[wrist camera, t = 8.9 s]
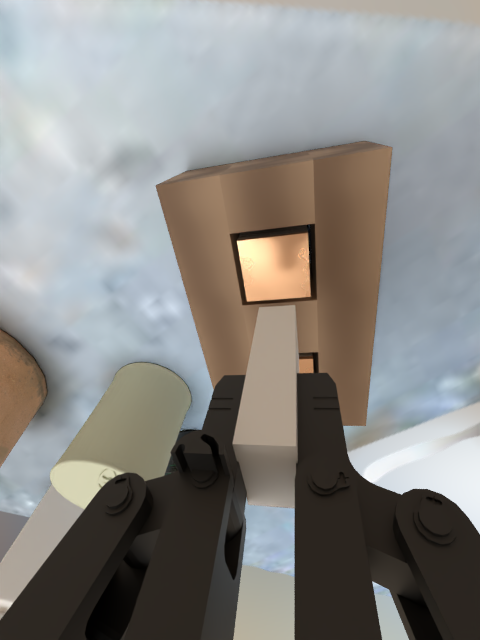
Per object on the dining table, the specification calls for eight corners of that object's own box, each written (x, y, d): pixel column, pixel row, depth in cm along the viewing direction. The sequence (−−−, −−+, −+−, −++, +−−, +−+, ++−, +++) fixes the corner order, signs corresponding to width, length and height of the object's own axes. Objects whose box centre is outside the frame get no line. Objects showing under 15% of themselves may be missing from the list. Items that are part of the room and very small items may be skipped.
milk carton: (99, 506, 54) (21, 665, 38) (61, 497, 54) (-33, 652, 38) (97, 487, 50) (9, 655, 34) (55, 477, 50) (-52, 641, 34)
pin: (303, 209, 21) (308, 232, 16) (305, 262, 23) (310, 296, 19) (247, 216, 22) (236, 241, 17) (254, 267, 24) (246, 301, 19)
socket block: (364, 140, 19) (392, 147, 14) (352, 374, 29) (365, 425, 24) (186, 171, 21) (155, 185, 16) (233, 377, 32) (223, 424, 27)
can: (202, 381, 33) (165, 494, 23) (178, 427, 38) (140, 535, 28) (122, 349, 32) (46, 452, 22) (108, 401, 37) (42, 503, 27)
